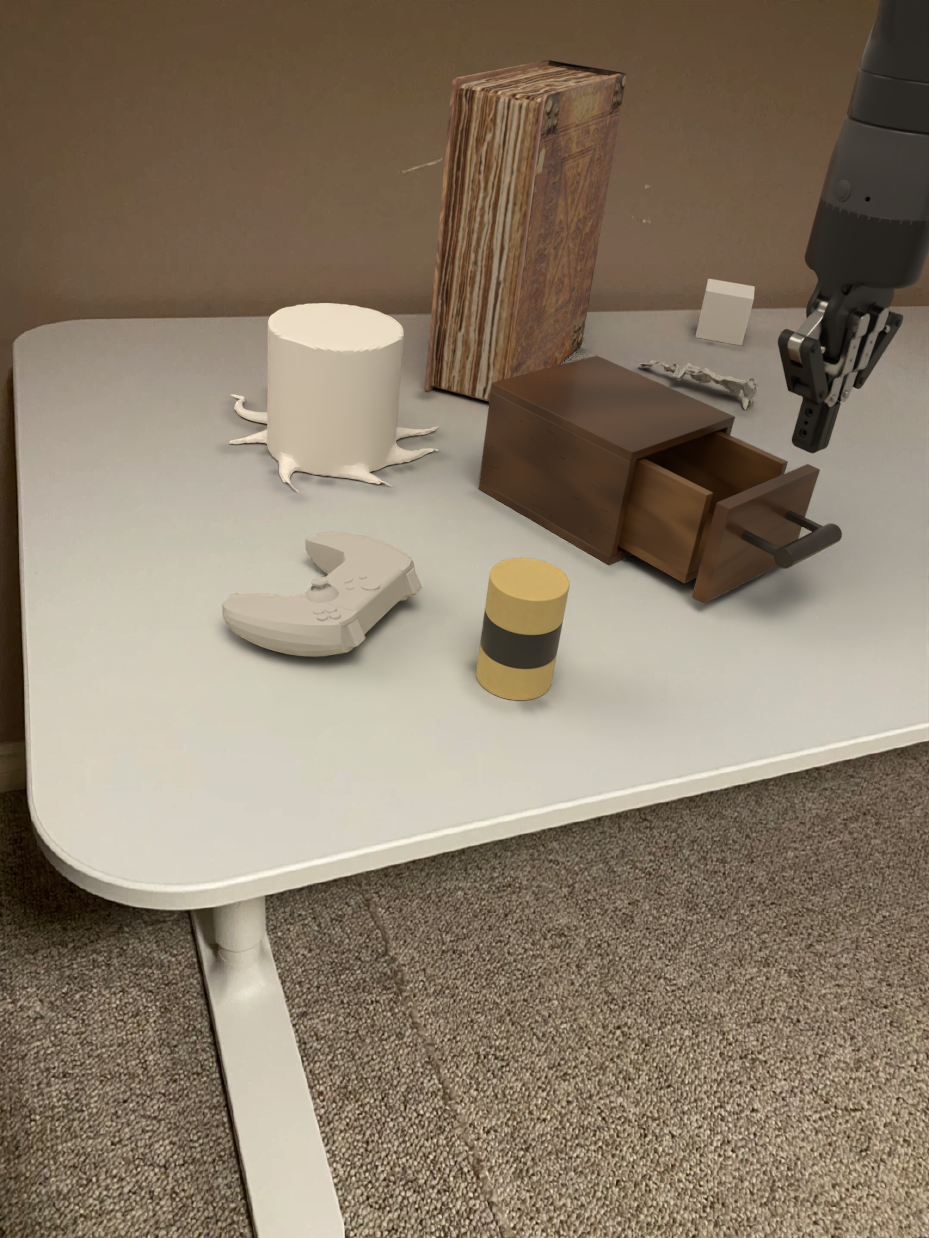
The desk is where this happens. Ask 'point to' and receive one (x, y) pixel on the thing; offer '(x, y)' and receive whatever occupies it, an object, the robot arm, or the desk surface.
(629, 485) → the cabinet
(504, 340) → the book
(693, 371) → the grey figurine
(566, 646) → the desk surface
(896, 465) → the desk surface
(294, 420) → the tree stump
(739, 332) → the beige rectangular block
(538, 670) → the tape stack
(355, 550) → the game controller
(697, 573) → the drawer
